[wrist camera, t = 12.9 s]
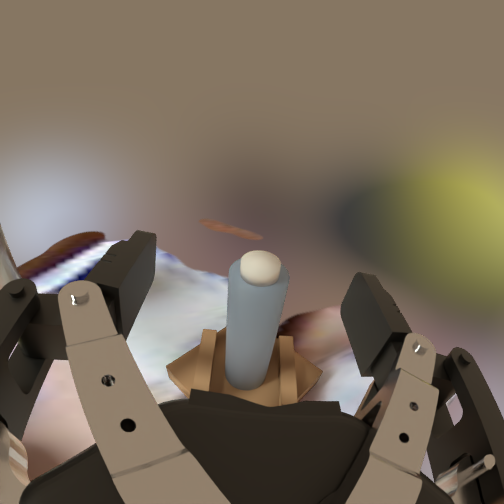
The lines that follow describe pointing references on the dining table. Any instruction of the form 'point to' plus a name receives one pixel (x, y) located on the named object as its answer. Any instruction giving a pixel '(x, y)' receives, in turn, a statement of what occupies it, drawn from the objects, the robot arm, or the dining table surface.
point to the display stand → (214, 380)
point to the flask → (253, 316)
